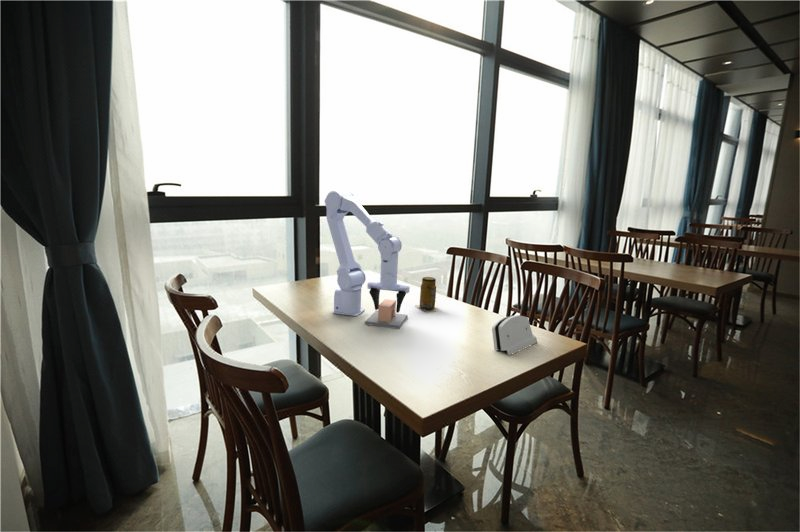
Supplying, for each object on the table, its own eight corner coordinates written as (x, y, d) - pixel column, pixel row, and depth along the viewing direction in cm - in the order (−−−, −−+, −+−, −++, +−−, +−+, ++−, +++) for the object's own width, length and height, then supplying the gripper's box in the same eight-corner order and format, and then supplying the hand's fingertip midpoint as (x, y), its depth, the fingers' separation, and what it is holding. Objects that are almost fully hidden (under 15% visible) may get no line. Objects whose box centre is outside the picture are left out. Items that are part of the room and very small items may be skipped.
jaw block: (377, 320, 130) (378, 305, 128) (384, 313, 137) (385, 299, 136) (389, 322, 129) (389, 306, 128) (395, 315, 136) (396, 300, 135)
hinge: (508, 355, 109) (501, 321, 109) (495, 355, 112) (488, 322, 113) (538, 342, 120) (531, 311, 120) (524, 342, 123) (518, 312, 124)
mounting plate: (364, 324, 129) (365, 321, 129) (375, 313, 140) (375, 310, 140) (399, 328, 126) (399, 325, 126) (407, 317, 137) (407, 314, 137)
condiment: (430, 304, 155) (432, 275, 153) (441, 310, 148) (443, 280, 145) (414, 306, 152) (416, 276, 149) (425, 312, 144) (427, 281, 142)
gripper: (364, 272, 128) (363, 311, 130) (407, 276, 124) (404, 316, 127) (371, 268, 134) (370, 305, 137) (411, 272, 131) (409, 310, 134)
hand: (387, 310), depth 132 cm, fingers open, 7 cm apart
